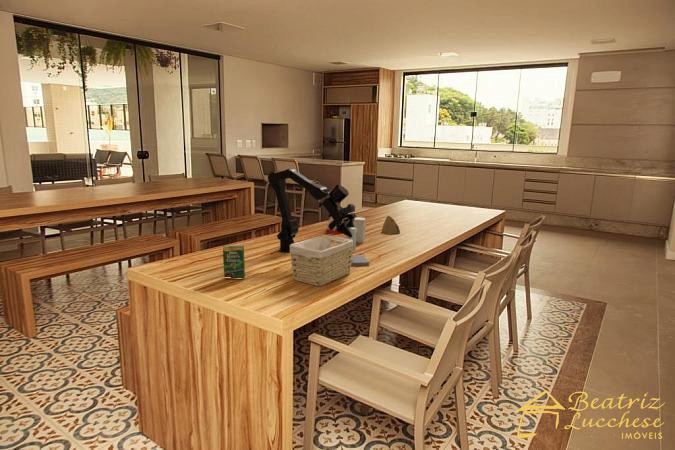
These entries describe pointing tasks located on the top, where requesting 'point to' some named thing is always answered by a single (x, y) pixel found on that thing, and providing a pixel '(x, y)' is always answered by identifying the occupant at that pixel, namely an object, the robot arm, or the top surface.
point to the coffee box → (234, 261)
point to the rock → (390, 226)
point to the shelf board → (359, 260)
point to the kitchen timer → (334, 228)
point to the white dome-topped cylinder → (353, 232)
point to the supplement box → (360, 229)
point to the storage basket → (321, 259)
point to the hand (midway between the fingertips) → (354, 235)
